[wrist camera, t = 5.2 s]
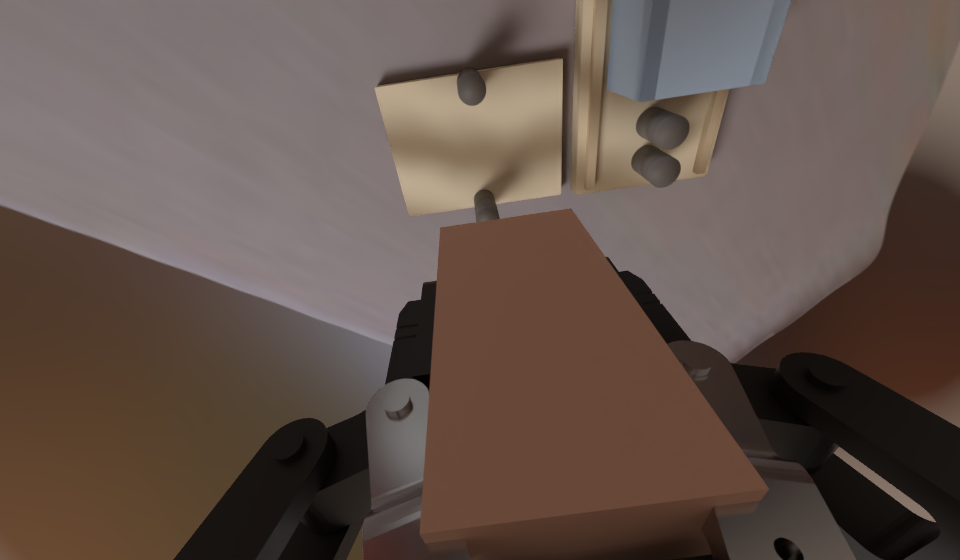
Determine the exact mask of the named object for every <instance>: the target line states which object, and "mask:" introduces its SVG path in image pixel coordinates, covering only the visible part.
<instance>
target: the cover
mask: <svg viewBox="0 0 960 560" xmlns="http://www.w3.org/2000/svg"><path fill="white" fill-rule="evenodd" d="M790 2H791V0H614V1H613V13H612V26H611V39H610V51H609V64H608V76H607V90H609V91H612V92H615V93H617V94H620V95H622V96H625V97H627V98H630V99H633V100H635V101H638V102H645V101H652V100H658V99H665V98H672V97H678V96H685V95H692V94H698V93H705V92H712V91H718V90H725V89H731V88H738V87H745V86H751V85H758V84H765V81H766V78H767V75H768V72H769V69H770V66H771V62H772V59H773V56H774V53H775V50H776V47H777V43H778V40H779V37H780V34H781V31H782V28H783V24H784V21H785V18H786V15H787V12H788V9H789V5H790Z"/></svg>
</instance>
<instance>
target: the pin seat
mask: <svg viewBox="0 0 960 560" xmlns="http://www.w3.org/2000/svg"><path fill="white" fill-rule="evenodd" d="M562 90H563V59H562V58H554V59H547V60H541V61H534V62H528V63H521V64H515V65H508V66H502V67H495V68H488V69H482V70H475V69H473V68H465V69H463V70H462V71H461V72H460V73H456V74H449V75H443V76H436V77H430V78H423V79H417V80H410V81H404V82H397V83H391V84H384V85H378V86H376V87H375V91H376V95H377V99H378V102H379V106H380V110H381V114H382V117H383V121H384V125H385V128H386V132H387V136H388V139H389V143H390V147H391V151H392V154H393V158H394V162H395V165H396V169H397V173H398V177H399V180H400V184H401V188H402V191H403V195H404V199H405V203H406V206H407V210H408V214H409V216H416V215H423V214H430V213H437V212H443V211H450V210H457V209H464V208H471V207H475V213H476V221H477V222H483V221H490V220H496V219H499V214H498V210H497V206H496V204H498V203H505V202H512V201H519V200H526V199H533V198H540V197H546V196H553V195H560V194H561V165H562Z"/></svg>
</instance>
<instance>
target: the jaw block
mask: <svg viewBox="0 0 960 560" xmlns="http://www.w3.org/2000/svg"><path fill="white" fill-rule="evenodd" d="M768 490H769V488H768V486H767V485H766V484H765V482H764V481H763V479H762V478H761V477H760V475H759V474H758V472H757V471H756V469H755V468H754V467H753V465H752V464H751V462H750V461H749V460H748V458H747V457H746V455H745V454H744V453H743V451H742V450H741V448H740V447H739V445H738V444H737V443H736V441H735V440H734V438H733V437H732V436H731V434H730V433H729V431H728V430H727V428H726V427H725V426H724V424H723V423H722V421H721V420H720V419H719V417H718V416H717V414H716V413H715V411H714V410H713V409H712V407H711V406H710V404H709V403H708V402H707V400H706V399H705V397H704V396H703V395H702V393H701V392H700V390H699V389H698V387H697V386H696V385H695V383H694V382H693V380H692V379H691V378H690V376H689V375H688V373H687V372H686V370H685V369H684V368H683V366H682V365H681V363H680V362H679V361H678V359H677V358H676V356H675V355H674V354H673V352H672V351H671V349H670V348H669V346H668V345H667V344H666V342H665V341H664V339H663V338H662V337H661V335H660V334H659V332H658V331H657V329H656V328H655V327H654V325H653V324H652V322H651V321H650V320H649V318H648V317H647V315H646V314H645V312H644V311H643V310H642V308H641V307H640V305H639V304H638V303H637V301H636V300H635V298H634V297H633V296H632V294H631V293H630V291H629V290H628V288H627V287H626V286H625V284H624V283H623V281H622V280H621V279H620V277H619V276H618V274H617V273H616V271H615V270H614V269H613V267H612V266H611V264H610V263H609V262H608V260H607V259H606V257H605V256H604V255H603V253H602V252H601V250H600V249H599V247H598V246H597V245H596V243H595V242H594V240H593V239H592V238H591V236H590V235H589V233H588V232H587V230H586V229H585V228H584V226H583V225H582V223H581V222H580V221H579V219H578V218H577V216H576V215H575V213H574V212H573V211H572V209H565V210H558V211H551V212H544V213H537V214H530V215H524V216H517V217H510V218H503V219H496V220H490V221H483V222H476V223H469V224H462V225H455V226H449V227H442V228H440V241H439V256H438V271H437V285H436V300H435V315H434V330H433V344H432V359H431V374H430V389H429V403H428V418H427V433H426V448H425V462H424V477H423V492H422V507H421V522H420V535H421V537H422V539H423V541H424V542H425V543H433V542H440V541H448V540H456V539H464V538H465V539H466V542H467V545H468V547H469V550H470V552H471V555H472V557H473V560H670V559H678V558H686V557H694V556H702V555H710V554H712V553H711V550H710V547H709V545H708V542H707V540H706V537H705V535H704V533H703V532H702V530H701V528H702V526H703V524H704V522H705V521H706V519H707V517H708V515H709V514H710V512H711V510H712V508H713V507H714V506H721V505H729V504H737V503H745V502H752V501H760V500H761V499H762V498H763V497H764V495H765V494H766V493H767V491H768Z"/></svg>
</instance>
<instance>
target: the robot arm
mask: <svg viewBox="0 0 960 560" xmlns="http://www.w3.org/2000/svg"><path fill="white" fill-rule="evenodd" d="M606 259H607V260H608V262H609V263H610V264H611V266H612V267H613V269H614V270H615V271H616V273H617V274H618V276H619V277H620V279H621V280H622V281H623V283H624V284H625V286H626V287H627V288H628V290H629V291H630V293H631V294H632V296H633V297H634V298H635V300H636V301H637V303H638V304H639V305H640V307H641V308H642V310H643V311H644V312H645V314H646V315H647V317H648V318H649V320H650V321H651V322H652V324H653V325H654V327H655V328H656V329H657V331H658V332H659V334H660V335H661V337H662V338H663V339H664V341H665V342H666V344H667V345H668V346H669V348H670V349H671V351H672V352H673V354H674V355H675V356H676V358H677V359H678V361H679V362H680V363H681V365H682V366H683V368H684V369H685V370H686V372H687V373H688V375H689V376H690V378H691V379H692V380H693V382H694V383H695V385H696V386H697V387H698V389H699V390H700V392H701V393H702V395H703V396H704V397H705V399H706V400H707V402H708V403H709V404H710V406H711V407H712V409H713V410H714V411H715V413H716V414H717V416H718V417H719V419H720V420H721V421H722V423H723V424H724V426H725V427H726V428H727V430H728V431H729V433H730V434H731V436H732V437H733V438H734V440H735V441H736V443H737V444H738V445H739V447H740V448H741V450H742V451H743V453H744V454H745V455H746V457H747V458H748V460H749V461H750V462H751V464H752V465H753V467H754V468H755V469H756V471H757V472H758V474H759V475H760V477H761V478H762V479H763V481H764V482H765V484H766V485H767V486H768V488H769V490H768V491H767V493H766V494H765V495H764V497H763V498H762V499H761V500H760V501H752V502H745V503H737V504H729V505H721V506H714V507H713V508H712V510H711V512H710V514H709V515H708V517H707V519H706V521H705V522H704V524H703V526H702V528H701V530H702V532H703V533H704V535H705V537H706V540H707V542H708V545H709V547H710V550H711V553H712V554H710V555H702V556H694V557H686V558H678V559H670V560H960V428H959V427H957V426H955V425H953V424H951V423H950V422H948V421H946V420H944V419H943V418H941V417H939V416H937V415H935V414H934V413H932V412H930V411H928V410H927V409H925V408H923V407H921V406H920V405H918V404H916V403H914V402H912V401H911V400H909V399H907V398H905V397H904V396H902V395H900V394H898V393H896V392H895V391H893V390H891V389H889V388H888V387H886V386H884V385H882V384H880V383H879V382H877V381H875V380H873V379H871V378H870V377H868V376H866V375H864V374H862V373H861V372H859V371H857V370H855V369H854V368H852V367H850V366H848V365H846V364H844V363H842V362H840V361H838V360H836V359H833V358H830V357H827V356H824V355H819V354H815V353H805V352H800V353H793V354H789V355H787V356H785V357H784V358H783V359H782V360H781V361H780V363H779V365H778V367H777V369H774V368H765V367H756V366H748V365H739V364H733V363H730V362H729V361H728V359H727V358H726V357H725V356H724V355H722V354H721V353H720V352H718V351H717V350H715V349H713V348H712V347H710V346H707V345H705V344H702V343H698V342H694V341H691V340H690V339H689V337H688V336H687V335H686V333H685V332H684V331H683V330H682V328H681V327H680V326H679V325H678V323H677V322H676V321H675V320H674V318H673V317H672V316H671V315H670V313H669V312H668V311H667V310H666V308H665V307H664V306H663V305H662V304H660V301H659V300H658V298H657V297H656V296H655V294H652V291H651V289H650V288H649V287H648V286H647V284H646V283H645V282H644V281H643V280H642V279H641V278H639V277H637V276H636V275H634V274H632V273H631V272H629V271H622V272H618V270H617V269H616V267H615V266H614V265H613V263H612V262H611V260H610V259H609V258H608V257H606ZM436 285H437V281H432V282H425V283H423V288H422V296H421V300H416V301H409V302H408V303H407V304H406V305H405V307H404V308H403V309H402V311H401V312H400V313H399V317H398V322H397V330H396V332H395V337H394V339H395V341H394V342H393V347H392V352H391V358H390V363H389V368H388V373H387V378H386V383H385V385H384V386H383V387H382V388H380V389H379V390H378V391H377V392H376V393H375V394H374V395H373V396H372V398H371V399H370V401H369V403H368V406H367V409H366V410H365V411H363V412H362V413H360V414H358V415H356V416H354V417H352V418H349V419H347V420H345V421H342V422H340V423H338V424H335V425H333V426H331V427H328V428H326V427H325V425H324V424H323V423H322V422H320V421H319V420H317V419H313V418H303V419H299V420H296V421H293V422H291V423H289V424H287V425H285V426H283V427H282V428H280V429H279V430H277V431H276V432H275V433H274V434H273V435H272V436H271V437H269V439H268V440H267V441H266V442H265V443H264V444H263V446H262V447H261V448H260V450H259V451H258V452H257V453H256V455H255V456H254V457H253V459H252V460H251V461H250V463H249V464H248V465H247V466H246V468H245V469H244V470H243V471H242V473H241V474H240V475H239V476H238V478H237V479H236V480H235V482H234V483H233V484H232V485H231V487H230V488H229V489H228V491H227V492H226V493H225V494H224V496H223V497H222V498H221V500H220V501H219V502H218V503H217V505H216V506H215V507H214V508H213V510H212V511H211V512H210V514H209V515H208V516H207V517H206V519H205V520H204V521H203V523H202V524H201V525H200V526H199V528H198V529H197V530H196V531H195V533H194V534H193V535H192V537H191V538H190V539H189V540H188V542H187V543H186V544H185V546H184V547H183V548H182V549H181V551H180V552H179V553H178V554H177V556H176V557H175V558H174V560H346V559H347V557H348V555H349V552H350V550H351V548H352V546H353V543H354V542H355V539H356V537H357V535H358V533H359V530H360V529H361V526H362V524H363V560H473V557H472V555H471V552H470V550H469V547H468V545H467V542H466V539H465V538H464V539H456V540H448V541H440V542H433V543H425V542H424V541H423V539H422V537H421V535H420V522H421V507H422V492H423V477H424V462H425V448H426V433H427V418H428V403H429V389H430V374H431V359H432V344H433V330H434V315H435V300H436ZM838 447H841V448H842V449H844V450H845V451H846V452H848V453H849V454H850V455H852V456H853V457H855V458H856V459H857V460H859V461H860V462H861V463H863V464H864V465H866V466H867V467H868V468H870V469H871V470H872V471H874V472H875V473H877V474H878V475H879V476H881V477H882V478H883V479H885V480H886V481H888V482H889V483H890V484H892V485H893V486H895V487H896V488H897V489H899V490H900V491H901V492H903V493H904V494H905V495H907V496H908V497H910V498H911V499H912V500H914V501H915V502H916V503H918V504H919V505H920V506H922V507H923V508H924V509H925V510H927V512H929V513H930V515H931V516H932V517H933V518H934V519H935V521H936V522H937V523H936V522H932V521H929V520H926V519H924V518H922V517H920V516H918V515H916V514H914V513H913V512H911V511H910V510H908V509H907V508H906V507H904V506H903V505H902V504H900V503H899V502H898V501H896V500H895V499H894V498H892V497H891V496H890V495H888V494H887V493H886V492H884V491H883V490H882V489H880V488H879V487H878V486H876V485H875V484H874V483H872V482H871V481H870V480H868V479H867V478H866V477H864V476H863V475H861V474H860V473H859V472H858V471H856V470H855V469H854V468H852V467H851V466H850V465H848V464H847V463H846V462H844V461H843V460H842V459H840V458H839V457H838V456H836V455H835V454H834V452H835V451H836V449H837V448H838Z"/></svg>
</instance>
